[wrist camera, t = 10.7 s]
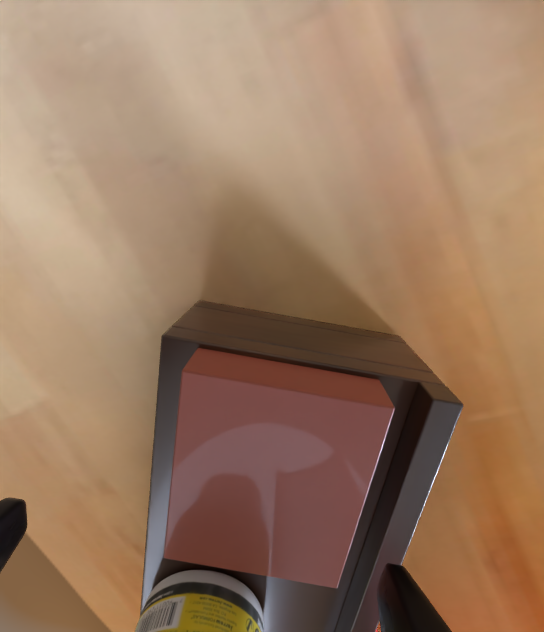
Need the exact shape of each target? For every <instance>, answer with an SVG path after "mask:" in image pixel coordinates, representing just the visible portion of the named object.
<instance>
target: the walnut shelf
mask: <svg viewBox="0 0 544 632" xmlns="http://www.w3.org/2000/svg"><path fill="white" fill-rule="evenodd" d="M197 348H203V349H208V350H214V351H220V352H225V353H231V354H237V355H242V356H248V357H253V358H259V359H265V360H270V361H276V362H282V363H287V364H293V365H298V366H304V367H310V368H315V369H321V370H327V371H332V372H338V373H344V374H349V375H355V376H360V377H366V378H372V379H377V380H380V382H381V384H382V386H383V387H384V389H385V391H386V393H387V395H388V396H389V398H390V400H391V402H392V404H393V405H394V407H395V410H394V413H393V416H392V419H391V422H390V425H389V428H388V431H387V435H386V438H385V441H384V444H383V447H382V450H381V453H380V456H379V459H378V463H377V466H376V469H375V472H374V475H373V478H372V481H371V484H370V488H369V491H368V494H367V497H366V500H365V503H364V506H363V509H362V512H361V516H360V519H359V522H358V525H357V528H356V531H355V534H354V537H353V540H352V544H351V547H350V550H349V553H348V556H347V559H346V562H345V565H344V569H343V572H342V575H341V578H340V581H339V584H338V587H337V588H331V587H326V586H320V585H314V584H309V583H303V582H297V581H292V580H286V579H280V578H275V577H269V576H263V575H258V574H252V573H246V572H241V571H235V570H229V569H224V568H218V567H212V566H207V565H201V564H195V563H190V562H184V561H178V560H173V559H167V558H164V556H163V555H164V545H165V535H166V525H167V515H168V505H169V494H170V484H171V474H172V464H173V454H174V444H175V434H176V424H177V414H178V404H179V394H180V384H181V374H182V370H183V368H184V367H185V365H186V364H187V363H188V361H189V360H190V358H191V357H192V355H193V354H194V353H195V351H196V350H197ZM462 408H463V403H462V402H461V401H460V400H459V399H458V398H457V397H456V396H455V395H454V394H453V393H452V392H451V390H450V389H449V388H448V387H446V386H445V385H444V383H443V382H442V381H441V380H440V379H439V378H438V377H437V376H436V375H435V374H434V373H433V372H432V370H431V369H430V368H429V367H428V366H427V365H426V364H425V363H424V362H423V361H422V360H421V359H420V358H419V357H418V355H417V354H416V353H415V352H414V351H413V350H412V349H411V348H410V347H409V346H408V345H407V344H406V342H405V341H404V340H403V339H402V338H401V337H400V336H396V335H391V334H385V333H380V332H374V331H368V330H363V329H357V328H351V327H346V326H340V325H335V324H329V323H323V322H318V321H312V320H306V319H301V318H295V317H290V316H284V315H278V314H273V313H267V312H261V311H256V310H250V309H245V308H239V307H233V306H228V305H222V304H217V303H211V302H205V301H198V302H197V303H196V304H195V305H194V306H193V307H192V308H191V309H190V310H189V311H188V312H187V313H185V314H184V315H183V316H182V317H181V318H180V319H179V320H178V321H177V322H176V323H175V324H174V325H172V327H170V328H169V329H168V330H167V331H166V332H165V333H164V334H163V335H162V339H161V352H160V365H159V378H158V391H157V404H156V417H155V430H154V443H153V456H152V469H151V482H150V495H149V508H148V521H147V534H146V547H145V560H144V573H143V586H142V599H141V612H140V615H141V613H142V610H143V608H144V606H145V603H146V600H147V598H148V596H149V594H150V593H151V591H152V590H153V589H154V587H155V586H156V585H157V584H158V583H160V582H161V581H162V580H164V579H165V578H167V577H169V576H171V575H173V574H176V573H179V572H182V571H187V570H209V571H215V572H219V573H223V574H226V575H228V576H231V577H233V578H235V579H237V580H239V581H240V582H242V583H243V584H244V585H246V586H247V587H248V588H249V589H250V590H251V591H252V592H253V594H254V595H255V596H256V598H257V600H258V601H259V603H260V606H261V609H262V612H263V618H264V629H263V632H375V631H376V629H377V626H378V624H379V621H380V618H379V610H378V601H377V586H378V583H379V580H380V578H381V575H382V572H383V569H384V567H385V565H386V564H387V563H391V564H397V565H402V562H403V559H404V557H405V554H406V552H407V549H408V547H409V544H410V542H411V539H412V536H413V534H414V531H415V529H416V526H417V524H418V521H419V518H420V516H421V513H422V511H423V508H424V506H425V503H426V500H427V498H428V495H429V493H430V490H431V488H432V485H433V483H434V480H435V477H436V475H437V472H438V470H439V467H440V465H441V462H442V459H443V457H444V454H445V452H446V449H447V447H448V444H449V442H450V439H451V436H452V434H453V431H454V429H455V426H456V424H457V421H458V418H459V416H460V413H461V411H462Z"/></svg>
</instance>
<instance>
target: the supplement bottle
mask: <svg viewBox="0 0 544 632" xmlns="http://www.w3.org/2000/svg"><path fill="white" fill-rule="evenodd" d="M263 629H264V618H263V612H262V609H261V606H260V603H259V601H258V600H257V598H256V596H255V595H254V594H253V592H252V591H251V590H250V589H249V588H248V587H247V586H246V585H244V584H243V583H242V582H240V581H239V580H237V579H235V578H233V577H231V576H228V575H226V574H223V573H219V572H215V571H209V570H187V571H182V572H179V573H176V574H173V575H171V576H169V577H167V578H165V579H164V580H162V581H161V582H160V583H158V584H157V585H156V586H155V587H154V589H153V590H152V591H151V593H150V594H149V596H148V598H147V600H146V603H145V606H144V608H143V610H142V613H141V615H140V618H139V621H138V623H137V626H136V629H135V632H263Z"/></svg>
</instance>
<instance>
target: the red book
mask: <svg viewBox="0 0 544 632" xmlns="http://www.w3.org/2000/svg"><path fill="white" fill-rule="evenodd" d="M394 410H395V407H394V405H393V404H392V402H391V400H390V398H389V396H388V395H387V393H386V391H385V389H384V387H383V386H382V384H381V382H380V380H377V379H372V378H366V377H360V376H355V375H349V374H344V373H338V372H332V371H327V370H321V369H315V368H310V367H304V366H298V365H293V364H287V363H282V362H276V361H270V360H265V359H259V358H253V357H248V356H242V355H237V354H231V353H225V352H220V351H214V350H208V349H203V348H197V350H196V351H195V353H194V354H193V355H192V357H191V358H190V360H189V361H188V363H187V364H186V365H185V367H184V368H183V370H182V374H181V384H180V394H179V404H178V414H177V424H176V434H175V444H174V454H173V464H172V474H171V484H170V494H169V505H168V515H167V525H166V535H165V545H164V555H163V556H164V558H167V559H173V560H178V561H184V562H190V563H195V564H201V565H207V566H212V567H218V568H224V569H229V570H235V571H241V572H246V573H252V574H258V575H263V576H269V577H275V578H280V579H286V580H292V581H297V582H303V583H309V584H314V585H320V586H326V587H331V588H337V587H338V584H339V581H340V578H341V575H342V572H343V569H344V565H345V562H346V559H347V556H348V553H349V550H350V547H351V544H352V540H353V537H354V534H355V531H356V528H357V525H358V522H359V519H360V516H361V512H362V509H363V506H364V503H365V500H366V497H367V494H368V491H369V488H370V484H371V481H372V478H373V475H374V472H375V469H376V466H377V463H378V459H379V456H380V453H381V450H382V447H383V444H384V441H385V438H386V435H387V431H388V428H389V425H390V422H391V419H392V416H393V413H394Z"/></svg>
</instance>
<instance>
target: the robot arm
mask: <svg viewBox="0 0 544 632" xmlns="http://www.w3.org/2000/svg"><path fill="white" fill-rule="evenodd" d="M26 529H27V512H26V502H25V501H24V500H22V499H16V498H5V499H3V500H1V501H0V572H1V571H2V569H3V568H4V566H5V564H6V563H7V561H8V559H9V558H10V556H11V555H12V553H13V552H14V550H15V548H16V547H17V545H18V544H19V542H20V541H21V539H22V537H23V535H24V534H25V531H26ZM377 601H378V610H379V618H380V626H381V632H452V631H451V630H450V629H449V627H448V626H447V625H446V623H445V622H444V620H443V619H442V618H441V616H440V615H439V614H438V612H437V611H436V609H435V608H434V607H433V605H432V604H431V603H430V601H429V600H428V598H427V597H426V596H425V594H424V593H423V592H422V590H421V589H420V588H419V586H418V585H417V583H416V582H415V581H414V579H413V578H412V577H411V575H410V574H409V572H408V571H407V570H406V569H405V568H404V567H403V566H401V565H397V564H391V563H387V564H386V565H385V567H384V569H383V572H382V575H381V578H380V580H379V583H378V586H377Z"/></svg>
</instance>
